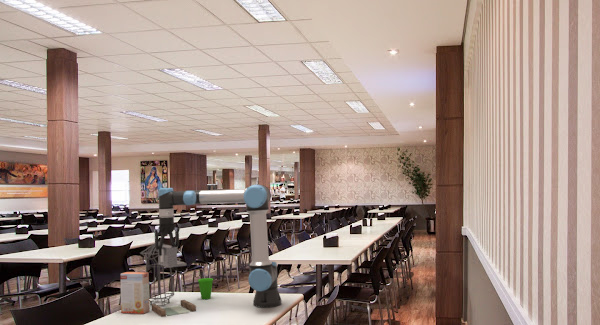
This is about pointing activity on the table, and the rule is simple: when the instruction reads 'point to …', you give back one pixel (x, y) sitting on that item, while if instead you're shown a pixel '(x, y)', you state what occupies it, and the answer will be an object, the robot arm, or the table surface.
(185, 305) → the bay walls
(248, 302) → the table surface
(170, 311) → the pad
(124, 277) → the cracker box
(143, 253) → the geometric lantern
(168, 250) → the angle bracket
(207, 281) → the cup
